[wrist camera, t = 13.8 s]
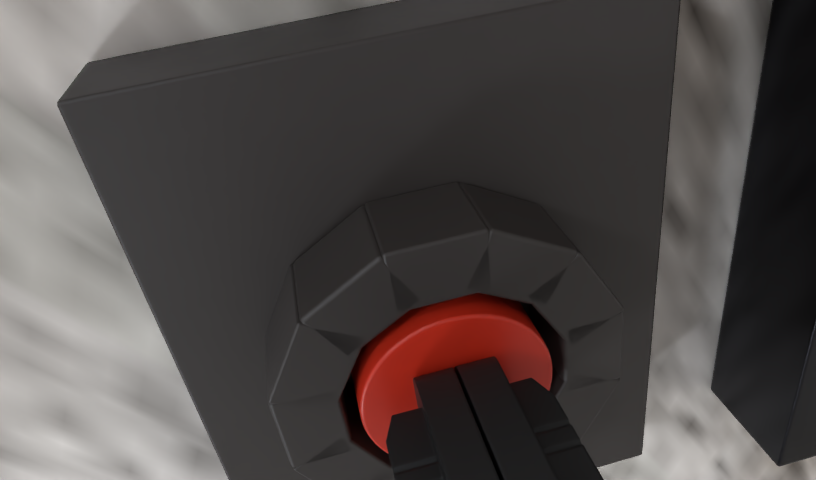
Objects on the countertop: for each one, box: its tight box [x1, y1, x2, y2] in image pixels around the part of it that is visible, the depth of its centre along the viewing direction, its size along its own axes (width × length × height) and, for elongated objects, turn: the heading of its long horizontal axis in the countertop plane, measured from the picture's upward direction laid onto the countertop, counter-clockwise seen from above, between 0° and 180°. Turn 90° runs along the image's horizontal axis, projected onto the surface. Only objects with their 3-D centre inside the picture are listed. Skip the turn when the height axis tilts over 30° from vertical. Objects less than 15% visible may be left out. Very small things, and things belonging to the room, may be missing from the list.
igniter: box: [57, 0, 680, 480], centre depth 13 cm, size 12×10×4 cm
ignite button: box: [351, 293, 552, 453], centre depth 12 cm, size 4×4×2 cm
